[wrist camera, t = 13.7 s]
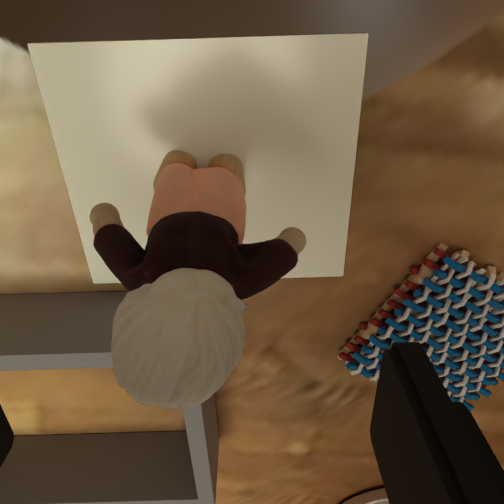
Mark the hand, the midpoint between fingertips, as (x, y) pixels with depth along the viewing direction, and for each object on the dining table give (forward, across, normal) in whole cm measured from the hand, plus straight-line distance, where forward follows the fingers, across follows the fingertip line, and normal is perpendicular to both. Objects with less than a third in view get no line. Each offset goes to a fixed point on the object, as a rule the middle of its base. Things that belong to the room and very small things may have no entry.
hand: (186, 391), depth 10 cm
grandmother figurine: (+12, 0, -1) cm, 12 cm away
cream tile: (+13, 0, -1) cm, 13 cm away
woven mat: (+14, -14, +10) cm, 22 cm away
